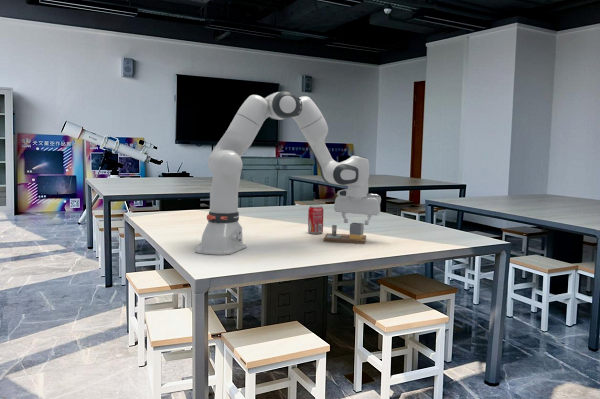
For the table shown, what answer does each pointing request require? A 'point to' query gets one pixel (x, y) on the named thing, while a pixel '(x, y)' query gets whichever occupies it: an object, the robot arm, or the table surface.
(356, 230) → the sleeve
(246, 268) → the table surface
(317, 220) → the soda can
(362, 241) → the pin board
